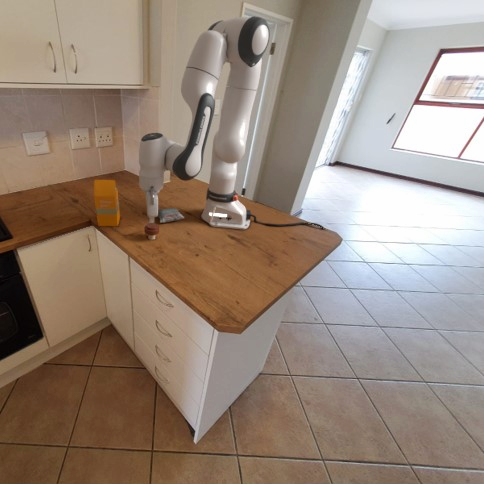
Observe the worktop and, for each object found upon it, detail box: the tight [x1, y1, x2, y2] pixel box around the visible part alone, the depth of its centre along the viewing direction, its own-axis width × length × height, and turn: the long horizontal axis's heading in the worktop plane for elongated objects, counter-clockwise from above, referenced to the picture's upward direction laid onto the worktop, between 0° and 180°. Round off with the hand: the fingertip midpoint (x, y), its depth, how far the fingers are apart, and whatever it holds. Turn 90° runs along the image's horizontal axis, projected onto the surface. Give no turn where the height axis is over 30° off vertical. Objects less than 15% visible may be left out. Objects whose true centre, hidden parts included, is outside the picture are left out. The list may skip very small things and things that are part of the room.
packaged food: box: [156, 207, 186, 224], centre depth 115 cm, size 9×12×5 cm
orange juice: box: [93, 178, 121, 227], centre depth 108 cm, size 8×9×20 cm
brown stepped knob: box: [143, 222, 160, 241], centre depth 102 cm, size 6×6×6 cm
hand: (150, 216), depth 98 cm, fingers open, 8 cm apart
